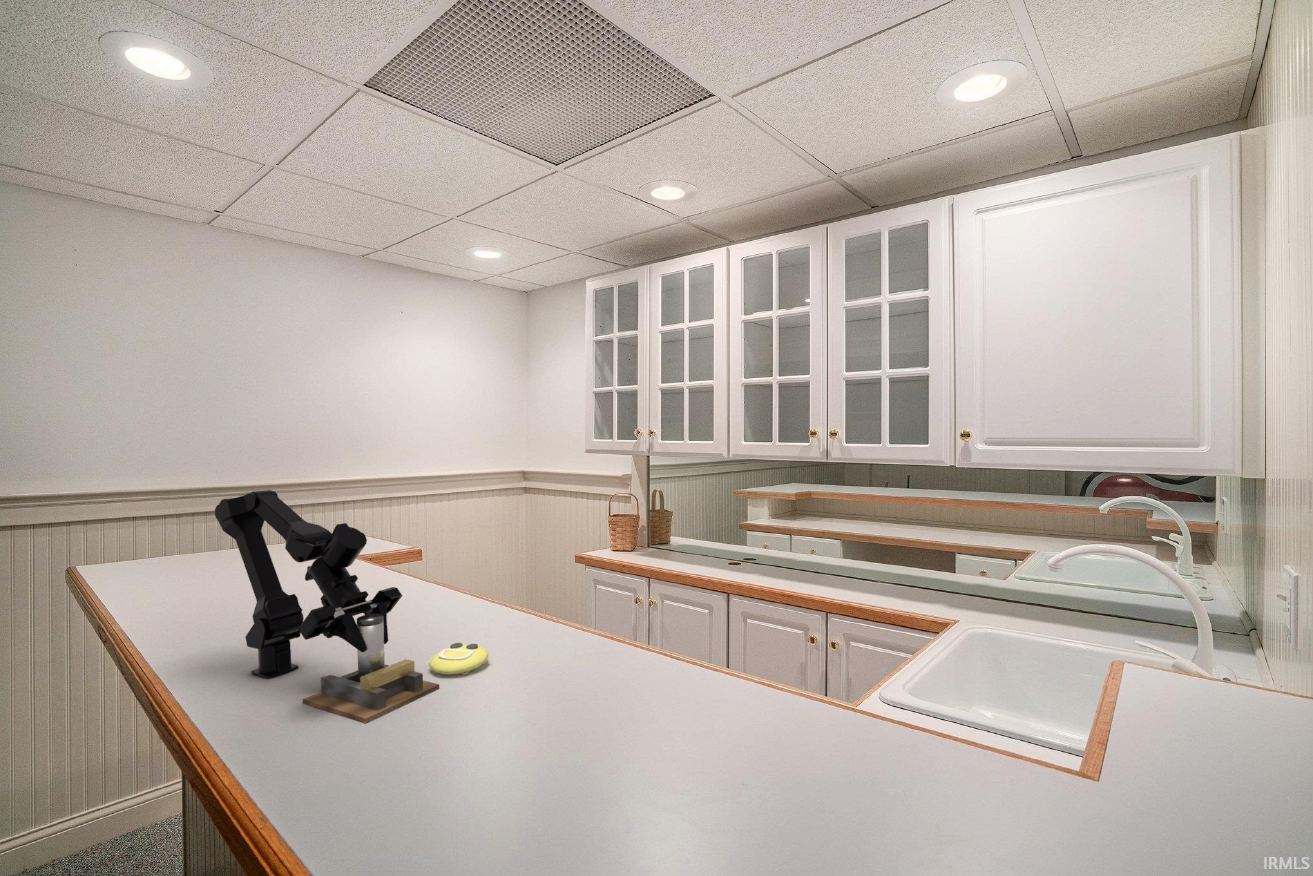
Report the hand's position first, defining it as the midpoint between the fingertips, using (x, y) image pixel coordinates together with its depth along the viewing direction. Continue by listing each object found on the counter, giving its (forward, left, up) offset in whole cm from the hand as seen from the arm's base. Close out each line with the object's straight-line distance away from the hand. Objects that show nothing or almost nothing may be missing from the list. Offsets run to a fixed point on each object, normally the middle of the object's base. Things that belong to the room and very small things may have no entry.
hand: (375, 646), depth 118 cm
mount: (-1, 0, -9) cm, 10 cm away
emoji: (+3, +18, -10) cm, 20 cm away
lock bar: (+3, 0, -6) cm, 7 cm away
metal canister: (-1, 0, -7) cm, 7 cm away
